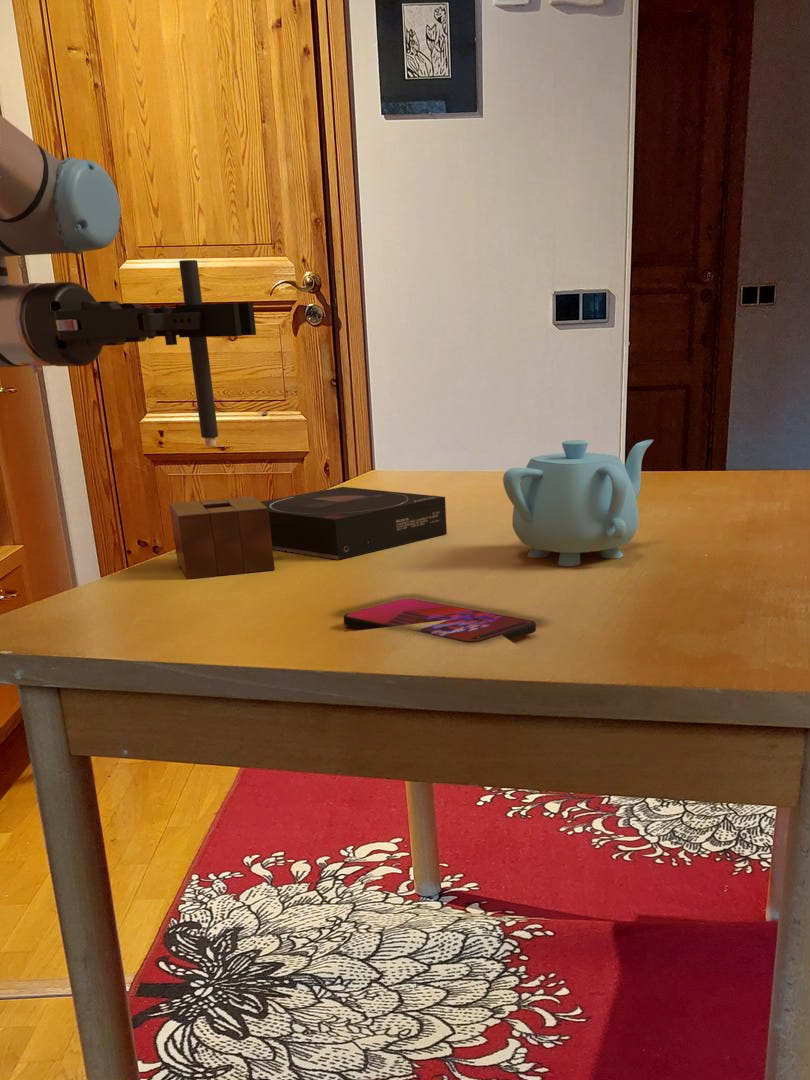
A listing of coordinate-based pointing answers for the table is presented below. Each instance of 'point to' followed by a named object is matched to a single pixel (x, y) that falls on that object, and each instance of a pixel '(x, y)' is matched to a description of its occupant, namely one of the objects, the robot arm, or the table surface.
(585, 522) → the teapot
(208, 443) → the stylus
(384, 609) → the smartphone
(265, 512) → the pen stand
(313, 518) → the portable cd player
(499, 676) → the table surface
